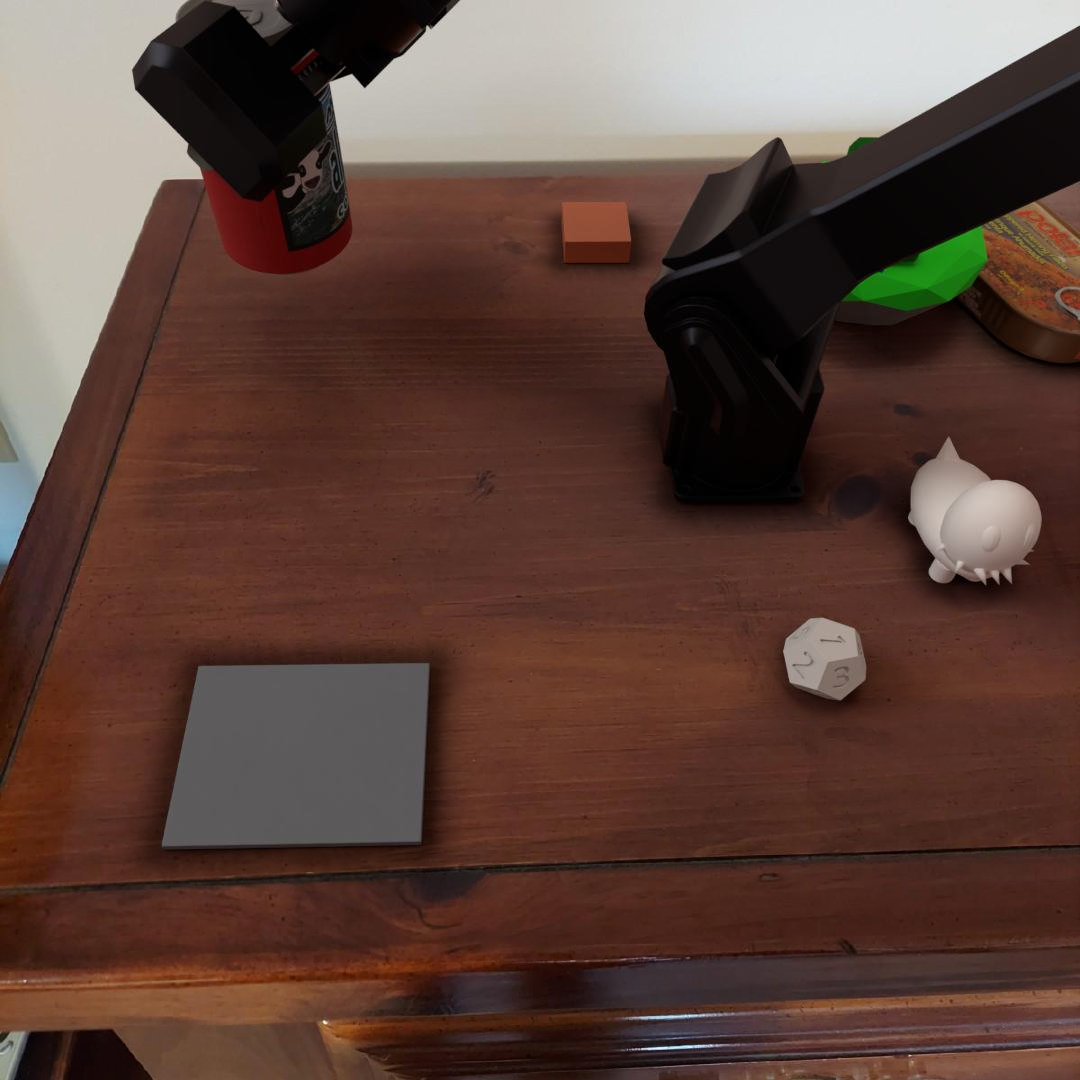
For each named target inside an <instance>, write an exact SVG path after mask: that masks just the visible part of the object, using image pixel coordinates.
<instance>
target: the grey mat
mask: <svg viewBox="0 0 1080 1080" xmlns="http://www.w3.org/2000/svg"><path fill="white" fill-rule="evenodd" d="M430 676H431V664H430V662H409V663H408V662H403V663H402V662H401V663H400V662H399V663H397V662H395V663H327V664H326V663H325V664H321V663H320V664H319V663H318V664H317V663H316V664H251V665H250V664H249V665H248V664H247V665H239V664H238V665H199V666H198V667H197V671H196V677H195V682H194V687H193V691H192V697H191V700H190V706H189V711H188V716H187V721H186V726H185V731H184V735H183V740H182V745H181V750H180V754H179V760H178V764H177V769H176V774H175V778H174V783H173V789H172V793H171V798H170V802H169V806H168V807H169V808H168V813H167V816H166V817H167V818H166V822H165V826H164V831H163V837H162V840H161V841H162V842H161V848H162V849H163V850H168V851H169V850H214V849H215V850H216V849H217V850H218V849H219V850H220V849H221V850H223V849H224V850H225V849H226V850H227V849H275V848H277V849H279V848H280V849H281V848H329V847H334V848H335V847H388V846H390V847H391V846H421V845H422V844H423V830H424V826H423V825H424V808H425V785H426V765H427V746H428V745H427V743H428V724H429V723H428V721H429V700H430V699H429V698H430V679H431V677H430Z"/></svg>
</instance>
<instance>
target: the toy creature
mask: <svg viewBox="0 0 1080 1080" xmlns="http://www.w3.org/2000/svg"><path fill="white" fill-rule="evenodd" d="M1042 517H1043V516H1042V512H1041V508H1040V503H1039V502H1038V500H1037V499H1036V497H1035V496H1034V495H1033V493H1032V492H1031V491H1030V490H1028V489H1027V488H1026V487H1025V486H1024V485H1021V484H1019V483H1017V482H1015V481H1011V480H1007V479H993V480H992V479H991V478H990V477H989V476H988V475H987V474H986V473H985V472H983V471H982V470H981V469H980V468H978V467H977V466H976V465H974V464H973V463H970V462H968V461H966V460H964V459H961V458H960V456H959V454H958V452H957V450H956V448H955V446H954V444H953V442H952V440H951V437H950V436H947V438H946V440H945V442H944V443H943V445H942V447H941V448H940V450H939V452H938V453H937V455H936V457H935V458H932V459H929V460H928V461H926V463H925V464H923V465H922V466H921V467H920V468H918V470H917V471H916V474H915V476H914V479H913V481H912V483H911V486H910V511H909V513H908V516H907V519H908V521H909V523H910V524H911V525H913V526H914V527H915V529H916V531H917V532H918V535H919V537H920V539H921V541H922V542H923V544H924V545H925V547H926V548H927V550H928V551H929V552H930V553H931V555H932V556H933V557H934V560H933V561H932V563H931V565H930V567H929V568H928V575H929V576H930V578H931V579H932V580H933V581H934V582H936V583H938V584H948V583H950V582H952V580H954V578H955V576H956V575H959V576H961V577H963V578H965V580H968V581H971V582H982V583H983V584H984V586H987V579H990V578H992V579H993V580H994V581H995V582H996V584H998V585H999V586H1000V574H1002V575H1003V577H1004V578H1005V579H1006V580H1007V581H1008V582H1009V583H1010V584H1011V585H1013V579H1012V567H1014V566H1016V565H1019V566H1020V565H1024V566H1030V565H1031V564H1030V563H1029V562H1027V561H1026V560H1025V557H1026V556H1027V555H1028V554H1029V553H1033V552H1034V550H1033V547H1035V545H1036V543H1037V541H1038V540H1039V539H1038V538H1039V536H1040V533H1041V528H1042V521H1043V520H1042V519H1043V518H1042Z"/></svg>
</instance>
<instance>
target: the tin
mask: <svg viewBox="0 0 1080 1080" xmlns="http://www.w3.org/2000/svg"><path fill="white" fill-rule="evenodd" d="M982 232H983V237H984V243H985V249H986V254H987V262H986V263H985V265H984V267H983V268H982V270H981V271H980V273H979V274H978V276H977V278H976V279H975V281H974V282H973V284H972V286H971V287H969V288H968V289H966V290H965V291H963V292H962V293H960V294H959V295H957V296H956V297H955V299H957V301H959V302H960V303H961V304H962V305H963V306H964V307H965V308H966V309H967V310H968V311H969V312H970V313H971V314H973V316H974V317H975V318H976V319H978V320H979V322H981V324H982V325H983V326H984V327H985V328H986V329H987V330H988V331H989V332H990V333H991V334H993V336H994V337H996V338H997V339H998V340H999V341H1000V342H1002V343H1003V344H1004V345H1006V346H1007V347H1009V348H1010V349H1013V350H1015V351H1017V352H1019V353H1020V354H1023V355H1026V356H1028V357H1031V358H1034V359H1037V360H1040V361H1044V362H1048V363H1054V364H1073V363H1079V362H1080V231H1078V230H1077V229H1076V228H1075V227H1074V226H1072V225H1071V224H1070V223H1069V222H1068V221H1067V220H1066V219H1064V218H1063V217H1062V216H1061V215H1060V214H1058V213H1057V212H1056V211H1055V210H1054V209H1053V208H1051V207H1050V206H1049V204H1048V203H1046V202H1045V201H1043V200H1042V199H1039V200H1037V201H1035V202H1033V203H1031V204H1028V205H1026V206H1024V207H1022V208H1019V209H1017V210H1015V211H1013V212H1011V213H1008V214H1006V215H1004V216H1002V217H1000V218H997V219H995V220H993V221H991V222H988V223H986V224H984V225H982Z"/></svg>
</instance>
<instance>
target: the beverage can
mask: <svg viewBox="0 0 1080 1080" xmlns="http://www.w3.org/2000/svg"><path fill="white" fill-rule="evenodd" d="M203 1H204V0H186V1H185V2H184V3H183V4H181V6H180V7H179V8H178V10H177V11H176V13H175V17H174V19H175V21H174V22H177V21H178V20H179V19H181V18H182V17H183V16H185V15H186V14H187V13H189V12H190V11H191V10H193V9H194V8H195V7H196V6H198V5H199V4H200V3H202V2H203ZM206 1H211V2H216V3H220V4H225V5H230V6H234V7H235V8H236V9H237V10H238V11H239V12H240V13H241V14H242V15H243V16H244V18H245V19H246V20H247V21H248V22H249V23H250V24H251V25H252V26H253V28H254V29H255V30H256V31H257V32H258V33H259V34H260V35H261V36H262V38H263V39H264V40H265V41H266V42H267V43H268V44H269V45H270V46H272V45H273V44H274V43H275V42H277V41H278V40H279V39H280V38H281V37H282V36H284V35H285V34H286V33H287V32H288V31H289V30H291V29H292V28H293V27H294V26H293V24H290V23H289V22H288V21H286V20H285V19H284V18H283V17H282V16H281V15H280V14H279V12H278V11H277V10H276V9H275V7H274V4H273V3H274V1H275V0H206ZM317 55H319V53H318V52H316V51H315V50H314V51H313V52H312V53H310V54H309V55H308V56H307V57H306V58H305V59H304V60H303V61H302V62H300V63H299V64H298V65H297V66H296V67H295V68H294V69H293V70H292V71H293V72H294V73H295V74H296V75H297V74H298V73H300V71H301V70H302V69H303V68H305V67H306V66H307V65H308V64H309V63H310V62H311V61H312V60H313V59H315V58H316V57H317ZM315 97H316V98H317V99H318V100H319V101H320V102H321V103H322V106H323V112H324V117H325V123H326V129H327V136H326V137H325V138H324V139H323V140H322V141H321V142H320V143H319V144H318V145H317V146H316V147H315V148H314V149H313V150H312V151H311V152H310V153H309V154H308V155H307V156H306V157H305V158H304V159H303V160H302V161H301V162H300V163H299V164H298V165H297V166H296V167H295V168H294V170H293V171H292V172H291V173H290V174H289V175H288V176H287V177H286V178H285V179H284V180H283V181H282V182H281V183H280V184H279V185H278V186H277V187H276V188H275V189H274V190H273V191H272V192H271V193H270V194H269V195H268V196H267V197H266V198H265V199H264V200H263V201H262V202H258V201H253V200H247V199H242V198H241V197H240V196H239V195H238V194H237V193H236V192H235V191H234V190H233V189H232V188H231V187H230V186H229V185H228V184H227V183H226V182H225V181H224V180H223V179H222V178H221V177H220V176H219V174H218V173H217V172H216V171H204V170H202V169H201V168H200V167H199V169H200V170H199V171H200V173H201V177H202V180H203V183H204V187H205V190H206V193H207V197H208V200H209V204H210V207H211V210H212V213H213V217H214V220H215V223H216V226H217V230H218V233H219V236H220V239H221V243H222V246H223V249H224V250H225V252H226V254H227V255H228V257H230V258H231V259H232V261H234V262H235V263H236V264H238V265H239V266H241V267H243V268H246V269H248V270H251V271H255V272H258V273H262V274H269V275H270V274H271V275H278V276H279V275H280V276H291V275H297V274H303V273H306V272H309V271H312V270H314V269H317V268H319V267H320V266H323V265H325V264H326V263H328V262H331V260H333V259H334V258H336V257H337V256H339V255H340V254H341V253H342V252H343V251H344V250H345V248H346V247H347V245H348V244H349V242H350V241H351V239H352V235H353V222H352V221H353V220H352V213H351V207H350V200H349V193H348V187H347V180H346V174H345V169H344V168H345V167H344V161H343V156H342V148H341V143H340V137H339V130H338V125H337V124H338V123H337V120H336V113H335V106H334V100H333V94H332V89H331V82H329V83H328V84H327V85H326V86H325V87H324V88H323V89H322V90H321V91H320V92H319V93H318V94H317V95H316V96H315Z"/></svg>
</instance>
